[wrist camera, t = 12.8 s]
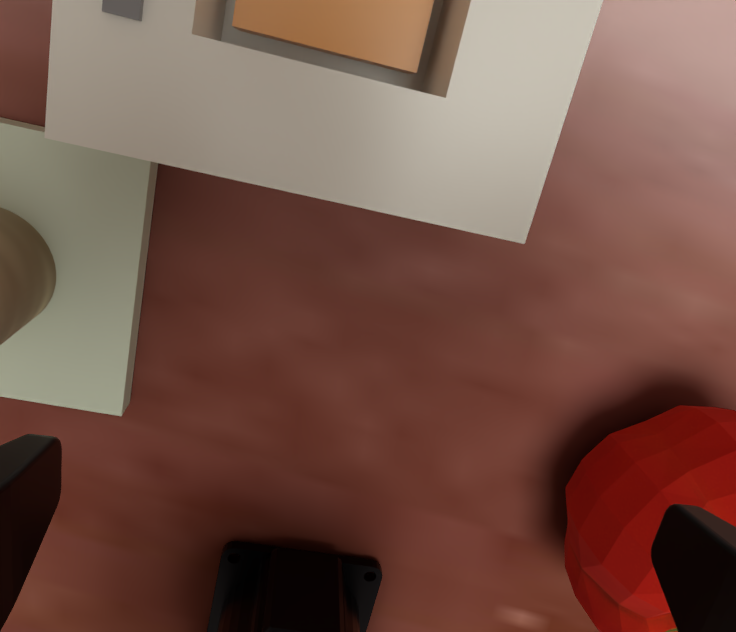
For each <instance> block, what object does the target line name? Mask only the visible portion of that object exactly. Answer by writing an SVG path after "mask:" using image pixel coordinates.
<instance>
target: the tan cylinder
mask: <svg viewBox="0 0 736 632" xmlns="http://www.w3.org/2000/svg"><path fill="white" fill-rule="evenodd" d="M55 285H56V268H55V263H54V259H53V256H52V253H51V251H50V249H49V247H48V245H47V244H46V242H45V240H44V239H43V238H42V236H41V235H40V234H39V232H38V231H37V230H36V229H35V228H34V227H33V226H32V225H30V224H29V223H28V222H27V221H26V220H24V219H23V218H21V217H20V216H18V215H16V214H14V213H13V212H11V211H8V210H6V209H3V208H1V207H0V345H1V344H2V343H4V342H5V341H6V340H7V339H9V338H10V337H11V336H12V335H14V334H15V333H16V332H17V331H19V330H20V329H21V328H22V327H24V326H25V325H26V324H27V323H28V322H30V321H31V320H32V319H33V318H35V317H36V316H37V315H38V314H40V313H41V312H42V311H43V310H44V309H45V308H46V306H47V305H48V303H49V302H50V300H51V298H52V296H53V293H54V290H55Z"/></svg>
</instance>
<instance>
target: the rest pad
mask: <svg viewBox="0 0 736 632" xmlns="http://www.w3.org/2000/svg"><path fill="white" fill-rule="evenodd" d="M44 137H45V127H42V126H37V125H33V124H28V123H24V122H20V121H15V120H11V119H6V118H2V117H0V207H1V208H3V209H6V210H8V211H11V212H13V213H14V214H16V215H18V216H20V217H21V218H23V219H24V220H26V221H27V222H28V223H29V224H30V225H32V226H33V227H34V228H35V229H36V230H37V231H38V232H39V234H40V235H41V236H42V238H43V239H44V240H45V242H46V244H47V245H48V247H49V249H50V251H51V253H52V256H53V259H54V263H55V268H56V285H55V290H54V293H53V296H52V298H51V300H50V302H49V303H48V305H47V306H46V308H45V309H44V310H43V311H42V312H41V313H40V314H38V315H37V316H36V317H35V318H33V319H32V320H31V321H30V322H28V323H27V324H26V325H25V326H24V327H22V328H21V329H20V330H19V331H17V332H16V333H15V334H14V335H12V336H11V337H10V338H9V339H7V340H6V341H5V342H4V343H2V344H1V345H0V397H6V398H13V399H19V400H25V401H31V402H37V403H43V404H49V405H55V406H62V407H68V408H74V409H80V410H86V411H92V412H98V413H105V414H111V415H117V416H122V415H123V413H124V411H125V410H126V408H127V406H128V405H129V403H130V397H131V388H132V380H133V371H134V363H135V355H136V346H137V338H138V329H139V321H140V313H141V304H142V296H143V287H144V279H145V271H146V262H147V254H148V245H149V237H150V229H151V220H152V212H153V203H154V195H155V187H156V178H157V170H158V163H155V162H151V161H146V160H142V159H137V158H133V157H128V156H124V155H119V154H115V153H110V152H106V151H101V150H97V149H92V148H88V147H83V146H78V145H74V144H69V143H65V142H60V141H56V140H51V139H47V138H44Z"/></svg>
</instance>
